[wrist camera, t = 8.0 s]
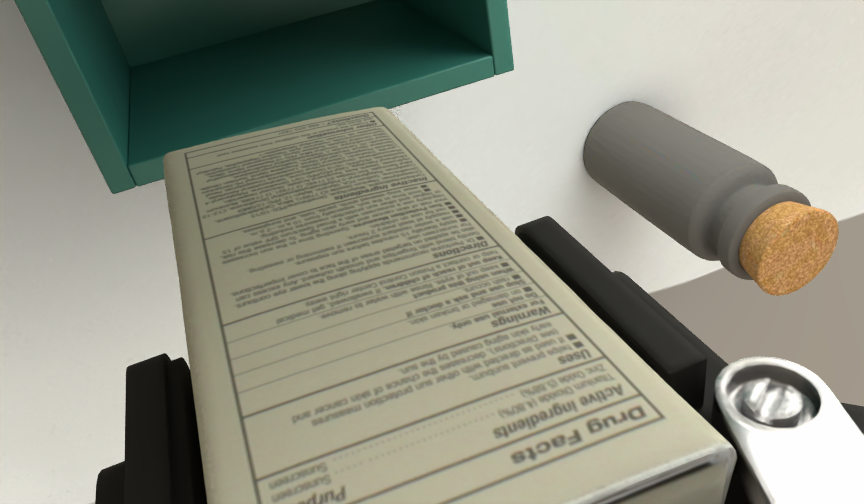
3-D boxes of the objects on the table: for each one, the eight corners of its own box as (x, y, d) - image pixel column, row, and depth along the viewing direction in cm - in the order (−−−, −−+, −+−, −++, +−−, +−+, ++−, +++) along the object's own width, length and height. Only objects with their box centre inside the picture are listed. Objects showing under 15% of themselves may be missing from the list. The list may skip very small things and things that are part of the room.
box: (209, 312, 16) (291, 879, 7) (157, 145, 14) (183, 678, 5) (417, 257, 18) (699, 683, 9) (400, 97, 15) (761, 452, 6)
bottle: (572, 131, 43) (741, 244, 31) (649, 83, 43) (847, 177, 31) (595, 200, 46) (756, 326, 34) (667, 155, 47) (851, 265, 35)
